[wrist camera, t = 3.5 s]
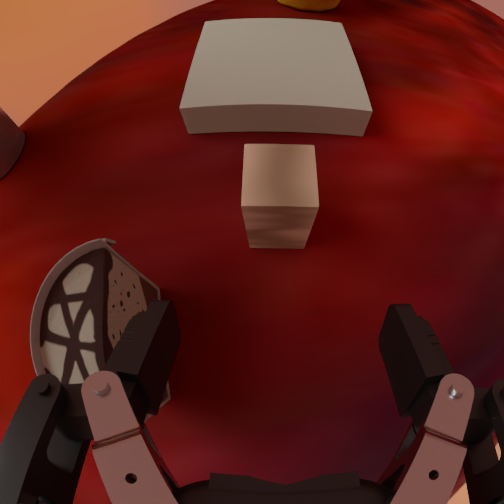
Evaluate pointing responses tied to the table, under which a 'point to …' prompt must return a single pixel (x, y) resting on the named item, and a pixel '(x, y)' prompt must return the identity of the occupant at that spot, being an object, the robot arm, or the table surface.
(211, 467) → the table surface
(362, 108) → the base board
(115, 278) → the food container
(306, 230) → the birch block
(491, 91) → the table surface
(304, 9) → the bucket of meat
